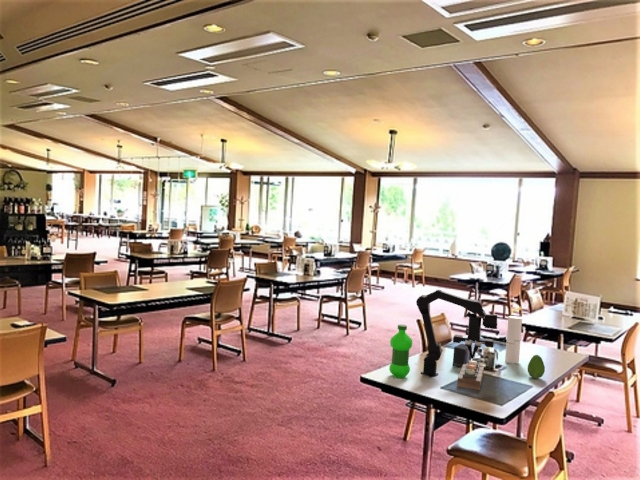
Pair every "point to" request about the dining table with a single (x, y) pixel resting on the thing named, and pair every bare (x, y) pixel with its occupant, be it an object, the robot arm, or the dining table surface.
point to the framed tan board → (470, 378)
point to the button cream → (473, 362)
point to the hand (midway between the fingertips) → (472, 358)
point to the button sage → (470, 372)
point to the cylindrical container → (513, 339)
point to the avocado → (536, 367)
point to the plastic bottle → (400, 353)
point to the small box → (461, 355)
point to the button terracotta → (471, 367)
